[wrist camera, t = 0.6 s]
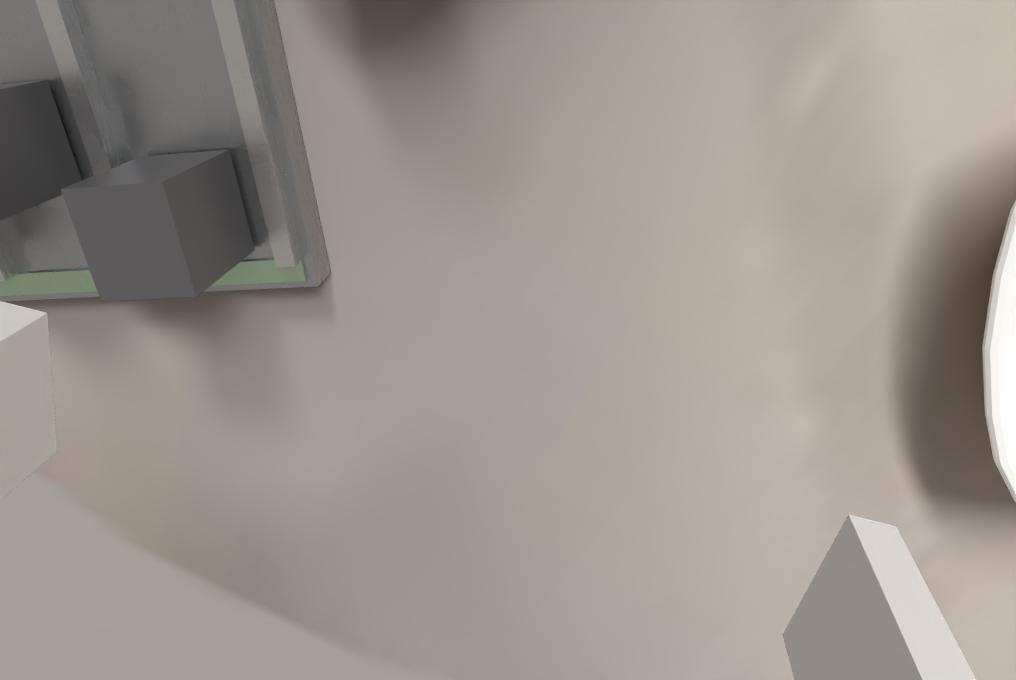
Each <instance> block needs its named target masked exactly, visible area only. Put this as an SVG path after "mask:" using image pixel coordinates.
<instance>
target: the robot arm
mask: <svg viewBox="0 0 1016 680" xmlns="http://www.w3.org/2000/svg"><path fill="white" fill-rule="evenodd" d="M56 452H57V441H56V427H55V413H54V399H53V385H52V371H51V357H50V343H49V329H48V315H47V313H46V312H42V311H38V310H34V309H30V308H26V307H22V306H18V305H14V304H10V303H6V302H2V301H1V302H0V500H2V499H3V498H4V497H5V496H6V495H8V494H9V493H10V492H11V491H12V490H13V489H14V488H16V487H17V486H18V485H19V484H20V483H21V482H22V481H24V480H25V479H26V478H27V477H28V476H29V475H30V474H32V473H33V472H34V471H35V470H36V469H37V468H39V467H40V466H41V465H42V464H43V463H44V462H45V461H47V460H48V459H49V458H50V457H51V456H52V455H53V454H55V453H56ZM783 638H784V642H785V645H786V649H787V653H788V657H789V660H790V664H791V668H792V672H793V676H794V679H795V680H976V679H975V677H974V675H973V673H972V671H971V669H970V667H969V665H968V664H967V662H966V660H965V658H964V656H963V654H962V652H961V650H960V648H959V646H958V644H957V642H956V641H955V639H954V637H953V635H952V633H951V631H950V629H949V627H948V625H947V623H946V621H945V620H944V618H943V616H942V614H941V612H940V610H939V608H938V606H937V604H936V602H935V600H934V598H933V597H932V595H931V593H930V591H929V589H928V587H927V585H926V583H925V581H924V579H923V577H922V576H921V574H920V572H919V570H918V568H917V566H916V564H915V562H914V560H913V558H912V556H911V554H910V553H909V551H908V549H907V547H906V545H905V543H904V541H903V539H902V537H901V535H900V533H899V532H898V530H897V528H896V526H893V525H889V524H885V523H881V522H877V521H873V520H869V519H865V518H861V517H857V516H853V515H848V516H847V518H846V520H845V522H844V524H843V526H842V527H841V529H840V531H839V533H838V535H837V536H836V538H835V540H834V542H833V544H832V546H831V547H830V549H829V551H828V553H827V555H826V557H825V558H824V560H823V562H822V564H821V566H820V567H819V569H818V571H817V573H816V575H815V577H814V578H813V580H812V582H811V584H810V586H809V588H808V589H807V591H806V593H805V595H804V597H803V598H802V600H801V602H800V604H799V606H798V608H797V609H796V611H795V613H794V615H793V617H792V619H791V620H790V622H789V624H788V626H787V628H786V629H785V631H784V633H783Z"/></svg>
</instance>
